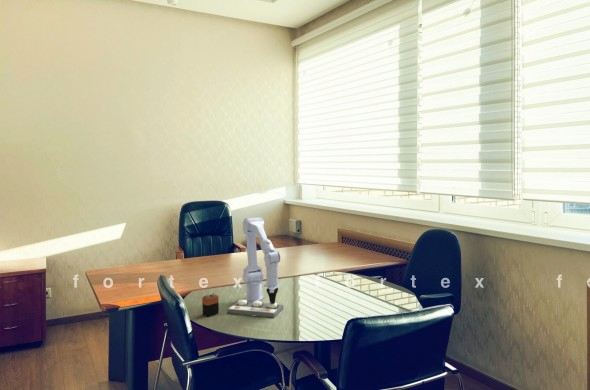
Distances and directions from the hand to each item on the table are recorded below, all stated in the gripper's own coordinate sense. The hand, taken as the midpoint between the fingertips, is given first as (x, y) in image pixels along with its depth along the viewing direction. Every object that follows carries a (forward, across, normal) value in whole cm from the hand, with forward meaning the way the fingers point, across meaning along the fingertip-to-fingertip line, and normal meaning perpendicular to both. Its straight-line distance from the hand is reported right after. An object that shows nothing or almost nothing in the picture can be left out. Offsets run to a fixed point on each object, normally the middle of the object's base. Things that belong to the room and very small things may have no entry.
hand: (272, 303), depth 235 cm
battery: (+4, +5, -30) cm, 30 cm away
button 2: (+3, -2, -8) cm, 8 cm away
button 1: (+3, -5, -15) cm, 16 cm away
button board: (+4, 0, -8) cm, 9 cm away
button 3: (+3, 0, 0) cm, 3 cm away
